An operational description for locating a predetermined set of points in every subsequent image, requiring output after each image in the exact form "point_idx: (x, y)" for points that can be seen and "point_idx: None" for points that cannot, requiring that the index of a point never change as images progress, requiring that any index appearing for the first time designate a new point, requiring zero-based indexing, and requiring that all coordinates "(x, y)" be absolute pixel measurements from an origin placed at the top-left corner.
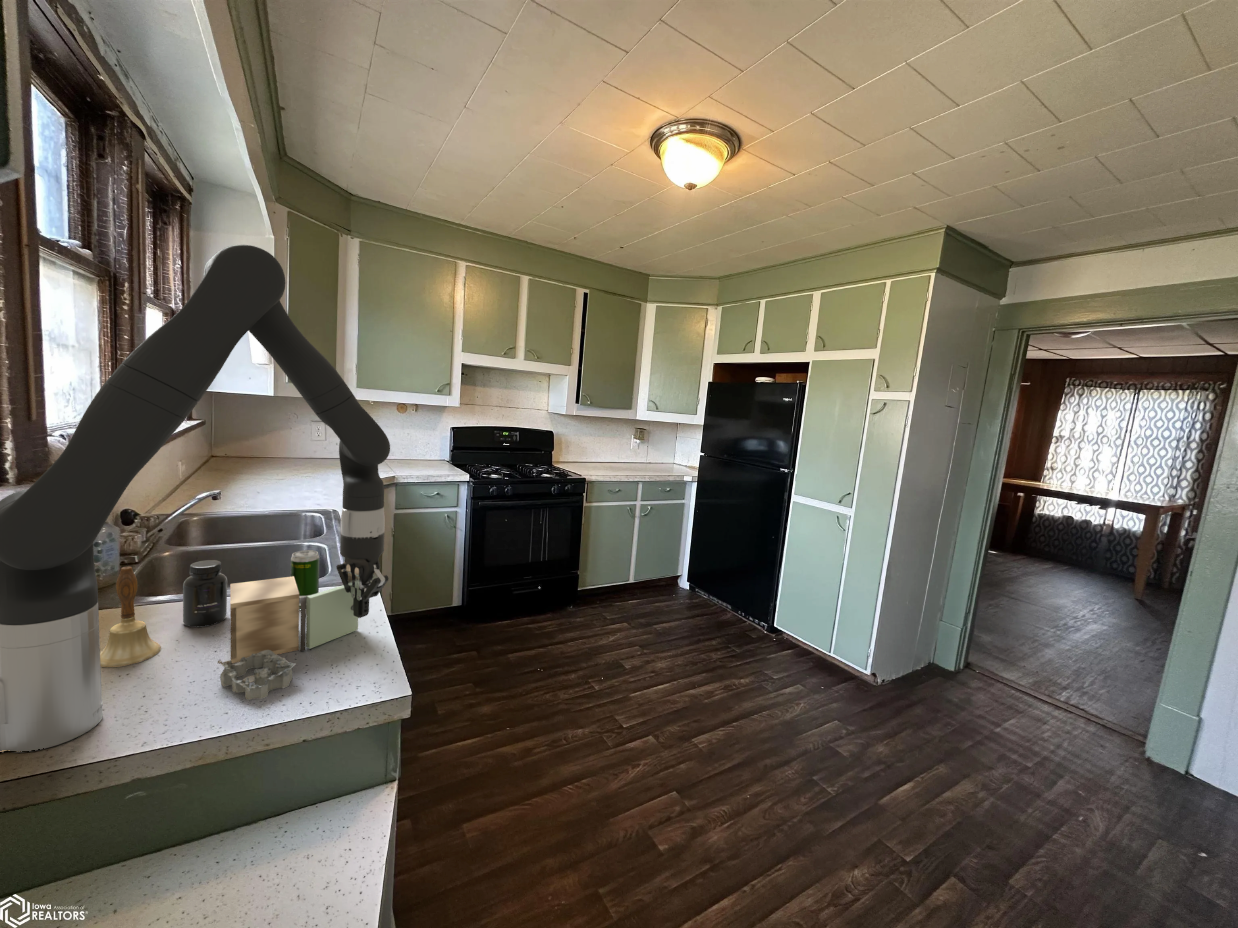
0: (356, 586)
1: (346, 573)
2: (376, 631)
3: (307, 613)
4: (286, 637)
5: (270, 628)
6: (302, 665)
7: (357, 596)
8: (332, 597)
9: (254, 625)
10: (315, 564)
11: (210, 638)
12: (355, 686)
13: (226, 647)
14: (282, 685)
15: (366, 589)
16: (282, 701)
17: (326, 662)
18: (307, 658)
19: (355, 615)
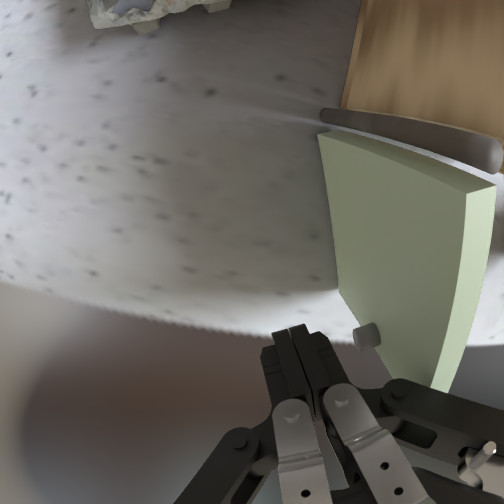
0: (307, 471)
1: (465, 445)
2: None
3: (413, 156)
4: (375, 70)
5: (415, 16)
6: (219, 80)
7: (302, 413)
8: (424, 307)
9: None
10: None
11: None
12: (9, 190)
13: None
14: (107, 6)
15: (228, 489)
16: (44, 11)
17: (188, 150)
18: (260, 107)
19: (291, 329)
